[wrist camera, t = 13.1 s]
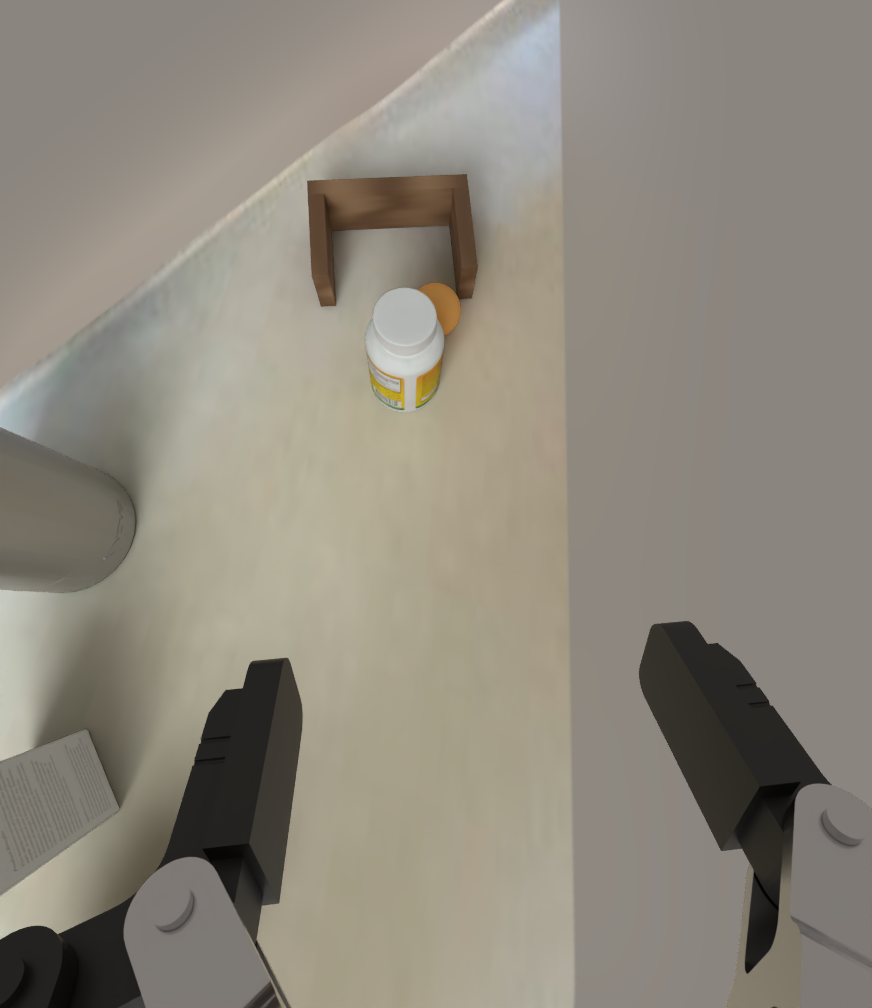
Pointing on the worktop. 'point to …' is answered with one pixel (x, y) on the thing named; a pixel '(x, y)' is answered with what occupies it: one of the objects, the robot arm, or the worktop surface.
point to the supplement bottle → (404, 349)
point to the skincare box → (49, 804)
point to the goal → (390, 219)
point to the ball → (443, 304)
